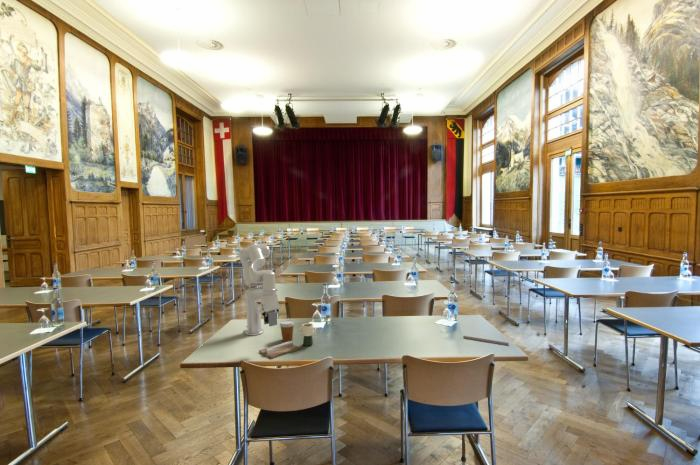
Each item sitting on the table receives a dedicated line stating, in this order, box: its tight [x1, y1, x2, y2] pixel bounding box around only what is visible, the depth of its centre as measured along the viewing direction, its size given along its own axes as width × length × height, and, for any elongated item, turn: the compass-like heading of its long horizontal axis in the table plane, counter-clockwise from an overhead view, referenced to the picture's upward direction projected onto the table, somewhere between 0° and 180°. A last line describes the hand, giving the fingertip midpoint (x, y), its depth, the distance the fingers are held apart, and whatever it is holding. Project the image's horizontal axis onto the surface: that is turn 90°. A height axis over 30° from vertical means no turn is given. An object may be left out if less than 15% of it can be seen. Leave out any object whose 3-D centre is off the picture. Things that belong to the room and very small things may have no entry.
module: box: [263, 311, 278, 327], centre depth 223 cm, size 7×5×8 cm
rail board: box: [258, 340, 300, 360], centre depth 223 cm, size 14×20×3 cm
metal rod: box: [462, 335, 509, 346], centre depth 232 cm, size 2×27×2 cm, turn 60°
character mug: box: [298, 322, 317, 347], centre depth 231 cm, size 11×7×13 cm, turn 82°
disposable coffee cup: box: [279, 319, 295, 342], centre depth 241 cm, size 10×10×12 cm
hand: (270, 321), depth 223 cm, fingers closed on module, 5 cm apart
